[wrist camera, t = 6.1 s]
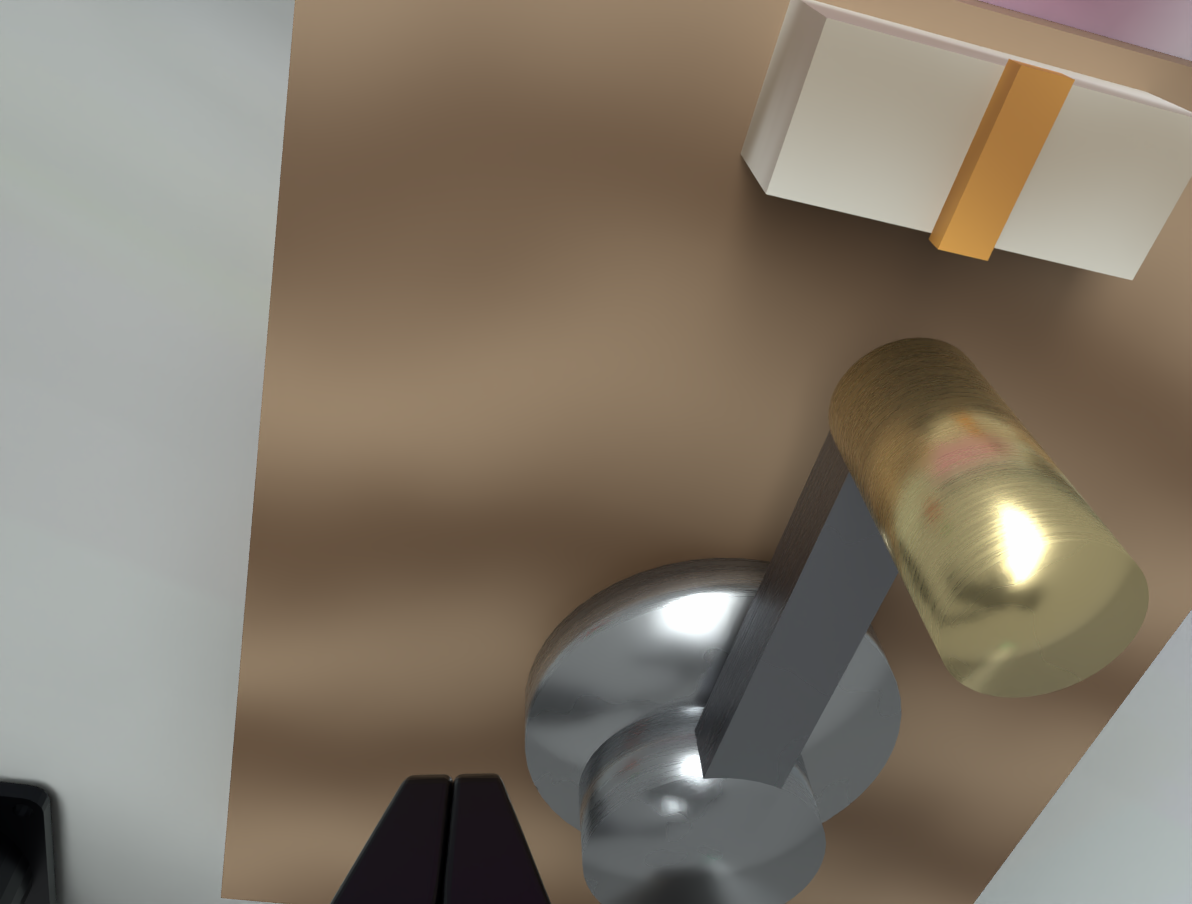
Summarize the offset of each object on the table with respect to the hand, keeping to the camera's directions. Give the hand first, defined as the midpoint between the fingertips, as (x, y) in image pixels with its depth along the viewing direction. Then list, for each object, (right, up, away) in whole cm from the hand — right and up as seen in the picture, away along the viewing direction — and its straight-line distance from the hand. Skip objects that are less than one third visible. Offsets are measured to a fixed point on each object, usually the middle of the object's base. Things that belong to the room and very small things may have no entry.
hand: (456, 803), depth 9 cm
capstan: (+5, 0, +12) cm, 12 cm away
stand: (+4, +1, +14) cm, 14 cm away
